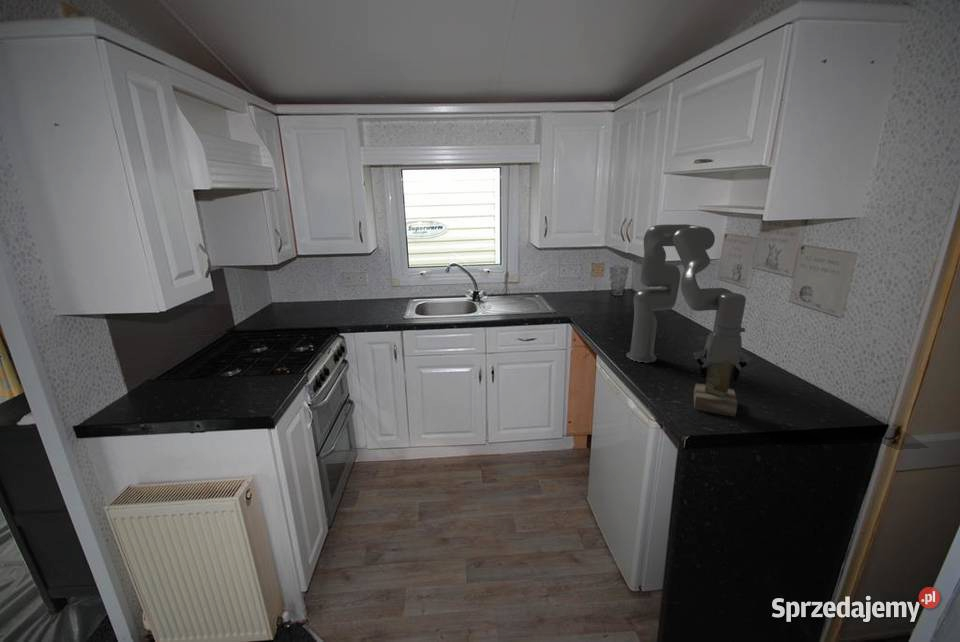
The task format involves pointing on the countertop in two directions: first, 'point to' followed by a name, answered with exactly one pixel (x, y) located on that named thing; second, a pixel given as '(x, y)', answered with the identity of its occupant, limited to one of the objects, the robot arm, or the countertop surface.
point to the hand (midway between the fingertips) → (717, 378)
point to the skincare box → (718, 378)
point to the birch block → (715, 401)
